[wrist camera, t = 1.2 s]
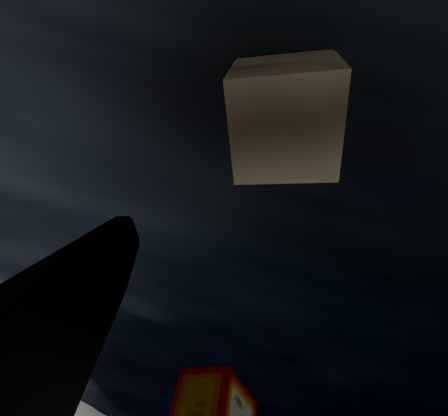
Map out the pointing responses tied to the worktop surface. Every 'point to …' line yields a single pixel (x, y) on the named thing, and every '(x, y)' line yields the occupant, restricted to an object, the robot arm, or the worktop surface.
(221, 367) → the baking soda box
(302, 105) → the maple cube
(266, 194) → the worktop surface
